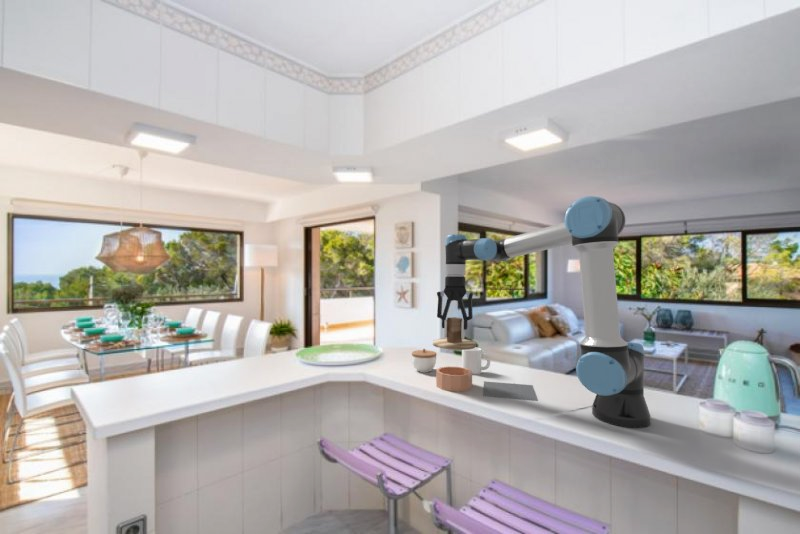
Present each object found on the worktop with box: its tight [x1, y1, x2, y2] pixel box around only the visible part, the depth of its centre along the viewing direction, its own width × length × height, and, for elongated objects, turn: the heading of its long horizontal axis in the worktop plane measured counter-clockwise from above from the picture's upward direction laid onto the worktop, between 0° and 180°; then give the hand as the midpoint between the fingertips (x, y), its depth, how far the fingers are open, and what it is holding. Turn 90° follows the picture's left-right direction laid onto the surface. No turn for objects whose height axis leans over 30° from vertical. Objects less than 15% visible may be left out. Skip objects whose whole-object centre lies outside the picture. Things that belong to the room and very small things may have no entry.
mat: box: [482, 380, 539, 402], centre depth 136 cm, size 18×18×1 cm
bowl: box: [435, 365, 473, 392], centre depth 141 cm, size 13×13×6 cm
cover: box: [432, 316, 477, 351], centre depth 141 cm, size 16×16×10 cm
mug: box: [461, 346, 491, 375], centre depth 161 cm, size 12×8×10 cm
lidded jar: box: [411, 348, 437, 373], centre depth 164 cm, size 11×11×9 cm
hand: (454, 337), depth 141 cm, fingers closed on cover, 6 cm apart
